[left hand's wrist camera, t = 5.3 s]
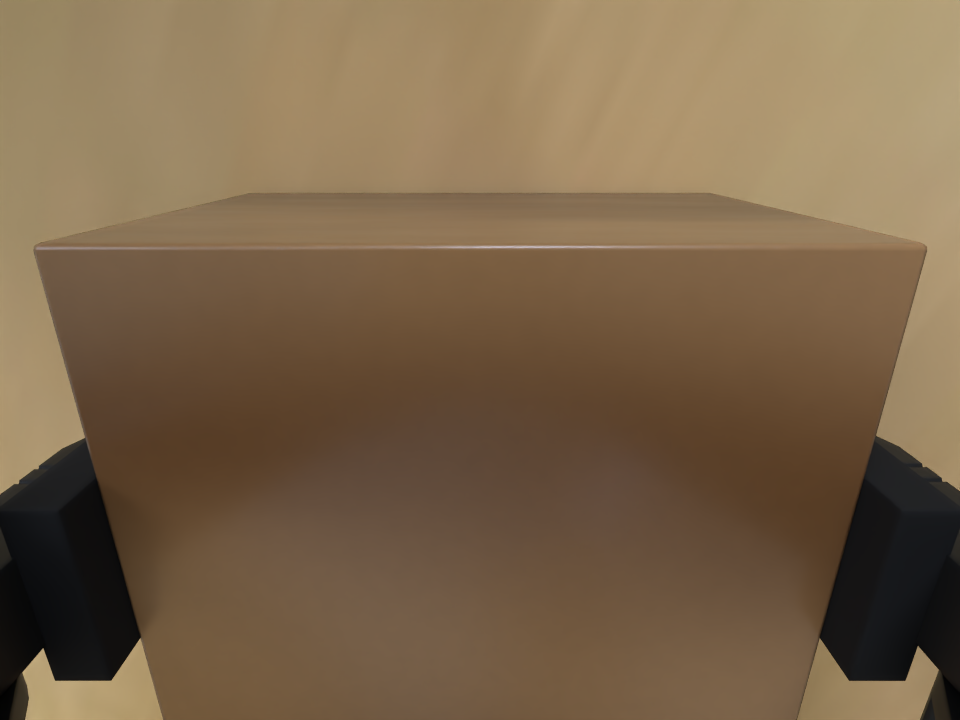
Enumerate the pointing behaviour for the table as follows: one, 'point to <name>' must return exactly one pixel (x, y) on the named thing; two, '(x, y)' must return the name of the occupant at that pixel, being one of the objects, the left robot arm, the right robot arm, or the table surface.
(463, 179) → the table surface
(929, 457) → the table surface
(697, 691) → the thick board
